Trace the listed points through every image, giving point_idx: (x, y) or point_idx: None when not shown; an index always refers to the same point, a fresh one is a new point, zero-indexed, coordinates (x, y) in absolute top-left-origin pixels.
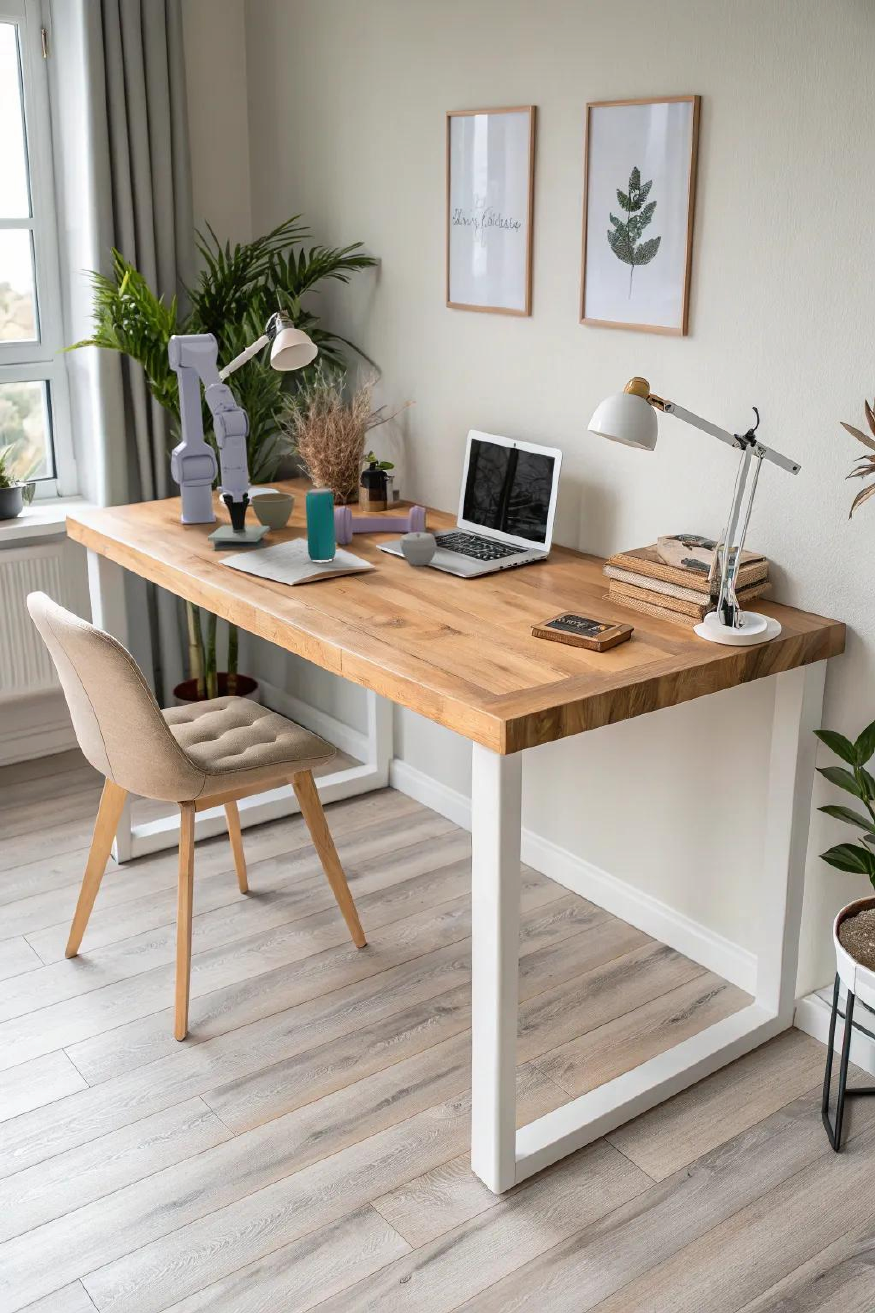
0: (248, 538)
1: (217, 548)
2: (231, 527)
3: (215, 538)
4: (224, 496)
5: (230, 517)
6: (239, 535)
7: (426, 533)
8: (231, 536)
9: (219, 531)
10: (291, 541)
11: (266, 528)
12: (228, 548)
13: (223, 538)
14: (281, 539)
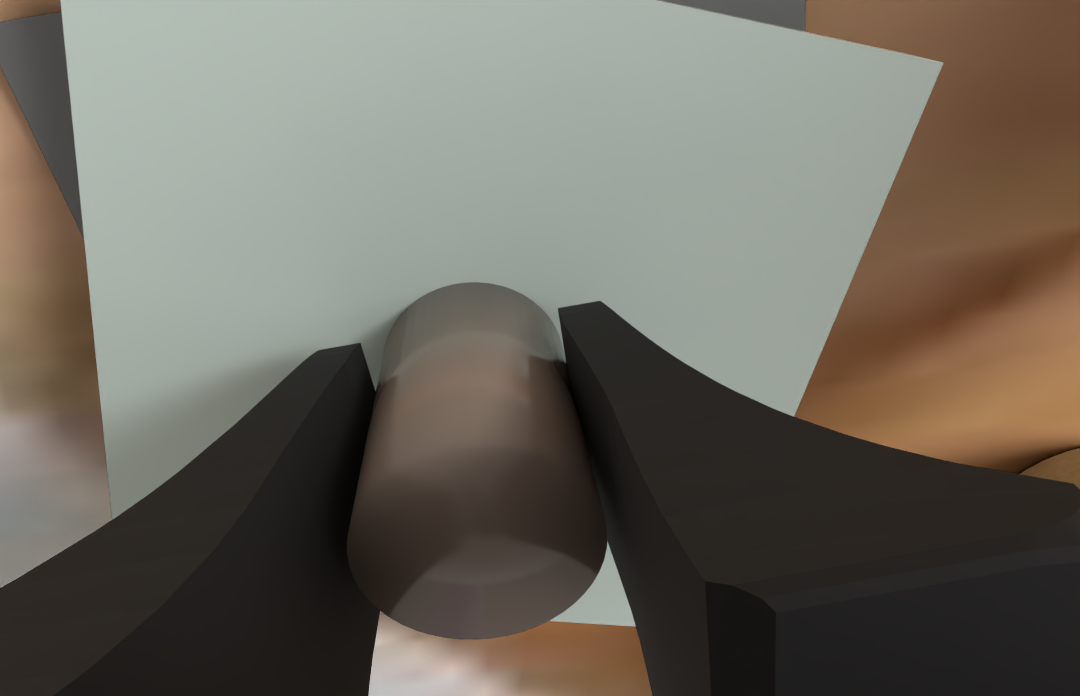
0: (115, 507)
1: (28, 57)
2: (750, 231)
3: (78, 36)
4: (752, 650)
5: (581, 352)
6: (236, 397)
7: None
8: (158, 301)
9: (510, 65)
10: (487, 693)
11: (596, 619)
12: (76, 213)
13: (85, 180)
14: (570, 625)
